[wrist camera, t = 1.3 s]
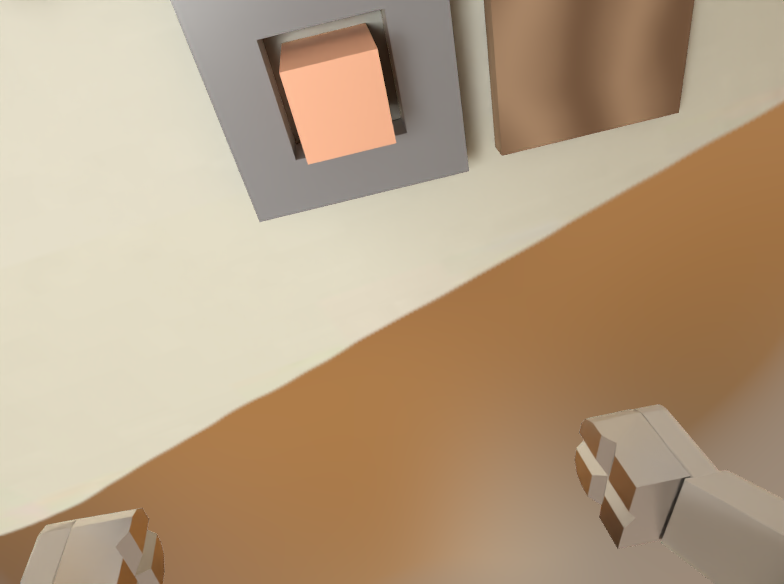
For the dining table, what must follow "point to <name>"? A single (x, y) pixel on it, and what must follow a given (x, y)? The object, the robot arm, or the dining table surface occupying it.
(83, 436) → the dining table surface
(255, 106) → the pocket plate
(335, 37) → the terracotta block
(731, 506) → the robot arm
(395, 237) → the dining table surface
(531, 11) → the walnut board
